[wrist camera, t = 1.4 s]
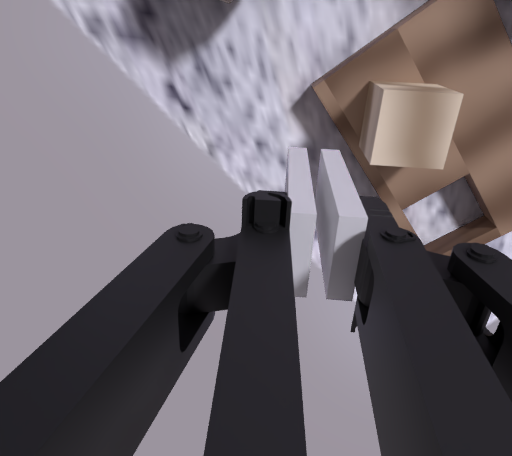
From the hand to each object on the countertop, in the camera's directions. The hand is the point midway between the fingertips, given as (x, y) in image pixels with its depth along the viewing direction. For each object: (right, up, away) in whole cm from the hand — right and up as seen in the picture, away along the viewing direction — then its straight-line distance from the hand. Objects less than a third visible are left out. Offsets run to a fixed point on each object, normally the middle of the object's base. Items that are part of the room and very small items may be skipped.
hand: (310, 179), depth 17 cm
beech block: (+9, +7, +14) cm, 18 cm away
